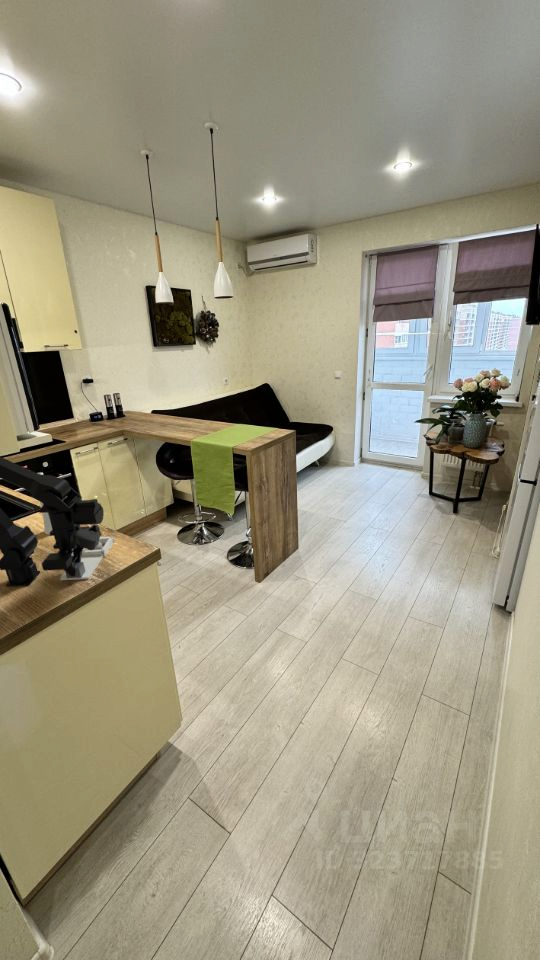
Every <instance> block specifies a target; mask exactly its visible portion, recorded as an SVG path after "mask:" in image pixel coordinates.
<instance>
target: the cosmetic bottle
mask: <svg viewBox="0 0 540 960" xmlns="http://www.w3.org/2000/svg"><path fill="white" fill-rule="evenodd" d="M36 473H37V474H41V475H44V473H43V472H36ZM39 506H40V509H41V508H42V506H43V503H41V502H40V501H39ZM41 514H42V521H43V525H44V534H45V535H49V536H50V532H51V531H52V526H51V523H50V519H49V515H48V513H41Z"/></svg>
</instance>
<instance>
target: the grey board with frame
mask: <svg viewBox="0 0 540 960" xmlns="http://www.w3.org/2000/svg"><path fill="white" fill-rule="evenodd" d="M114 538H115V537H114V536H100V539H99V541H100V543H102V545H103V544H104V545H103V548H102V550H88V549H86V548H84V549H83V550H82V556H81V562H75V563H74V565H75V576H70V575H69V574H68V573H67V572H66V571H65V570H64V573H63V574H62V575H61V577H60V578H59V580H60V581H73V580H74V581H76V580H77V581H78V580H89V579H90V578H91V577H92V575H93V574H94V572H95V571H96V569H97V567H98V565H99V564H100V562H101V561H102V559H103V558H104V557H106V555H107V554H108V552H109V551H110V550H111V547H112V546H113V544H114V543H115V539H114Z"/></svg>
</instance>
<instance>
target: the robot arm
mask: <svg viewBox="0 0 540 960" xmlns="http://www.w3.org/2000/svg"><path fill="white" fill-rule="evenodd" d="M37 473H38V472H35V471H32V470H31V469H28V468H26V467H23V466H21V465H20V464H17V463H14V462H13V461H10V460H9V459H6V458H4V457H1V456H0V479H1V480H4V481H6V482H8V483H10V484H13V485H14V486H17V487H19V488H22V489H24V490H25V491H27V492H29V494H30V495H31V496H32V497H33V499H35V500H37V501H38V502H39V503H40V502H41V503H43V506H42V508H41V507H40V508H39V509H38V511H37V512H38V513H39V514H40V513H41V514H42V513H48V515H49V519H50V523H51V526H52V531H51V532H50V535H49V536H50V537H51V536H52V537H54V541H55V543H54V544H53V545H52V547H53V550H58V551H57V552H50V553H49V554H48V555H47V556H46V557H45V559H44V560H43V561H42V562H41V567H42V570H43V571H62V570H63V571H64V572H65V571H66V572H67V573H68V574H69V575H70V576H75V565H74V563H75V562H81V556H82V550H83V549H84V548H86V549H85V550H94V549H95V548H96V546H97V545H98V544H99V539H100V537H102V531H101V530H100V526H99V525H101V524H102V522H103V520H104V513H105V512H104V507H103V506H102V503H99V502H98V499H97V498H92V499H86V500H85V499H84V500H83V499H82V498H83V496H81V494H79V493H78V492H77V491H76V490H75V489H74V488H72V486H71V485H70V482H69V481H67V480H66V479H65V478H60V477H57V476H56V475H55V476H54V475H51V474H50V475H49V474H43V475H41V474H37ZM67 498H68V499H67ZM66 499H67V500H66ZM64 500H66V501H64ZM83 525H86V526H83ZM87 525H91V526H87ZM37 536H38V535H37V534H35V533H34V532H33V531H32V529H31V528H30V526H28V525H25V526H24V527H21V526H19V525H17V524H15V523H14V522H13V520H12V519H11V518H10V517H9V515H7V513H5V511H4V510H3V509H2V508H1V507H0V552H1V553H2V555H3V556H1V557H0V571H5V573H6V576H7V579H8V580H7V582H6V584H5V587H24V586H29V585H31V584H32V583H33V582H34V581H35V579H36V578H38V576H39V574H41V570H38V568H37V564H36V562H35V561H34V558H33V556H32V555H33V554H34V553H35V549H36V548H37V547H38V543H39V541H38V538H37Z"/></svg>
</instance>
